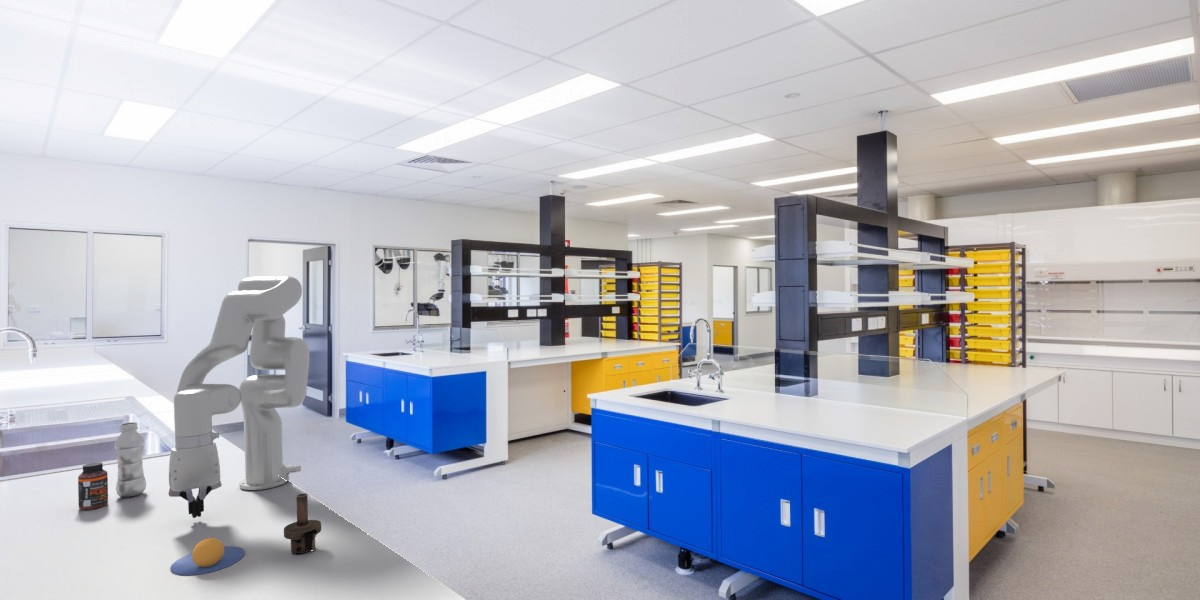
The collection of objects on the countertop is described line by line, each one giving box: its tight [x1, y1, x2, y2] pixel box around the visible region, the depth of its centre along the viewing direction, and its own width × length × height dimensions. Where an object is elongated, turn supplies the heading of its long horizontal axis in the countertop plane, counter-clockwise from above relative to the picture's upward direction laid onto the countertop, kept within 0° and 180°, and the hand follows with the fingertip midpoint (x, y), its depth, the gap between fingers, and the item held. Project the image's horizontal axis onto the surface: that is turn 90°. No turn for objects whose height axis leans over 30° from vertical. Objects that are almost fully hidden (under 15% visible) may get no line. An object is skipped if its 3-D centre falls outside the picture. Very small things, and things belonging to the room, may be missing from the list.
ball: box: [192, 537, 225, 567], centre depth 123 cm, size 6×6×6 cm
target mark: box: [169, 545, 246, 576], centre depth 126 cm, size 13×13×1 cm
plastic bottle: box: [114, 421, 147, 498], centre depth 166 cm, size 6×7×20 cm
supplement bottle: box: [77, 461, 109, 511], centre depth 158 cm, size 6×6×11 cm
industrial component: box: [283, 493, 322, 555], centre depth 131 cm, size 9×7×12 cm
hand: (196, 515), depth 147 cm, fingers closed
